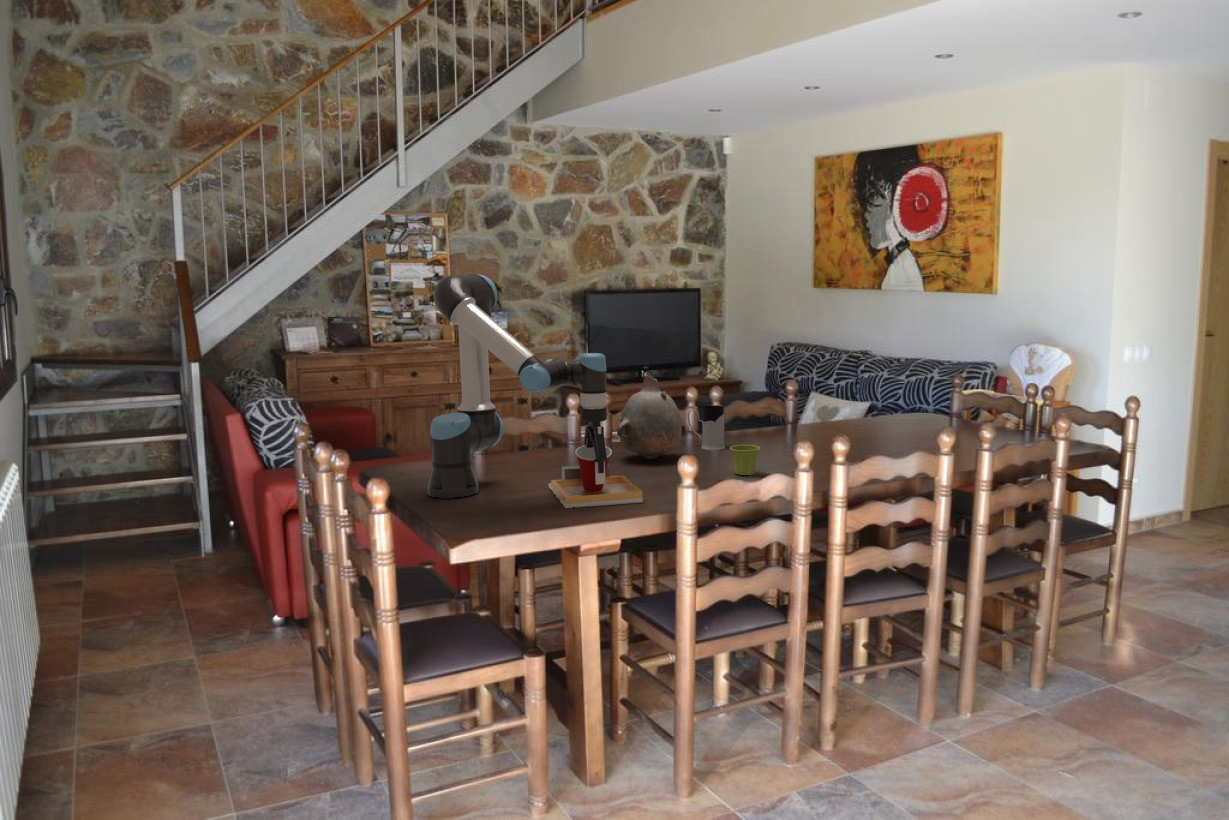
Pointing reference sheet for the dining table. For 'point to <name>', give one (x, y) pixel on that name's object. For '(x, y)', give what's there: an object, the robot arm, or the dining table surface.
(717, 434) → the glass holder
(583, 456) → the plastic cup
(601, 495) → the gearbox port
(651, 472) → the dining table surface
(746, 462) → the plant pot
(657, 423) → the jug
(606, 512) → the dining table surface
